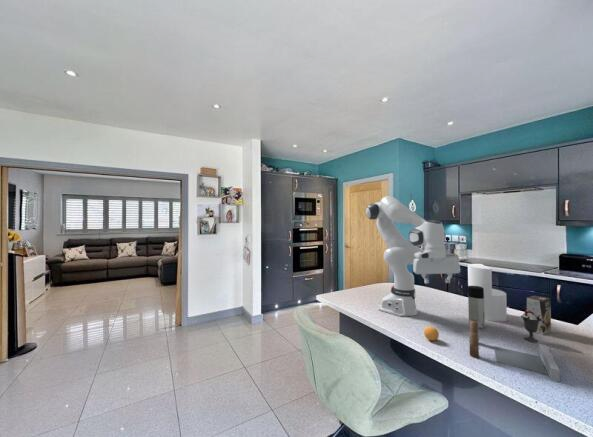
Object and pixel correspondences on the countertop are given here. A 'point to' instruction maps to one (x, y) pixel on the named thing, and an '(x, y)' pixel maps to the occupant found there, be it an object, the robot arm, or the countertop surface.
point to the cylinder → (488, 292)
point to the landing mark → (519, 359)
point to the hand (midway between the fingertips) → (437, 283)
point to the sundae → (530, 324)
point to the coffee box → (541, 312)
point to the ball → (431, 333)
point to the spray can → (476, 305)
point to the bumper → (549, 363)
